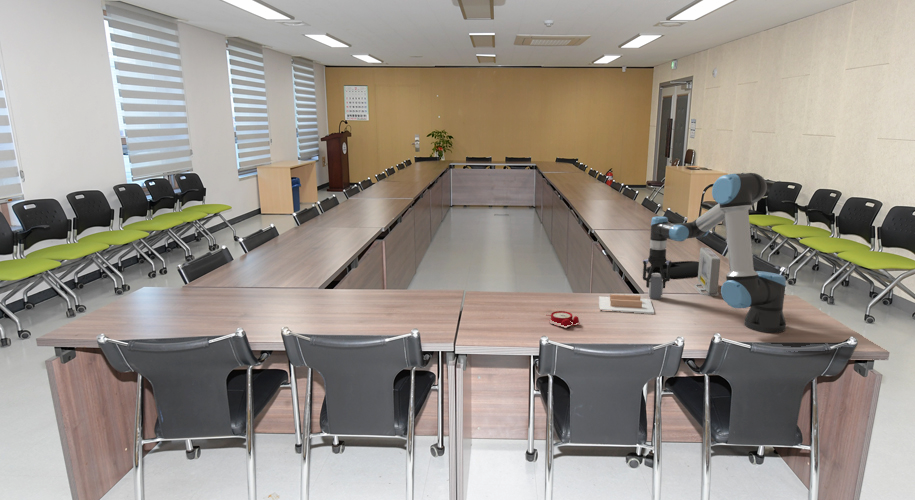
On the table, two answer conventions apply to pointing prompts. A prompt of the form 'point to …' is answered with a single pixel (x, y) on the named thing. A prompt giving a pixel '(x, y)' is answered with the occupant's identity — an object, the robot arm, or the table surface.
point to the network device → (708, 272)
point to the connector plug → (655, 286)
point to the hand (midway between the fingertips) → (655, 294)
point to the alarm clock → (564, 318)
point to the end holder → (626, 304)
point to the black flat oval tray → (679, 269)
